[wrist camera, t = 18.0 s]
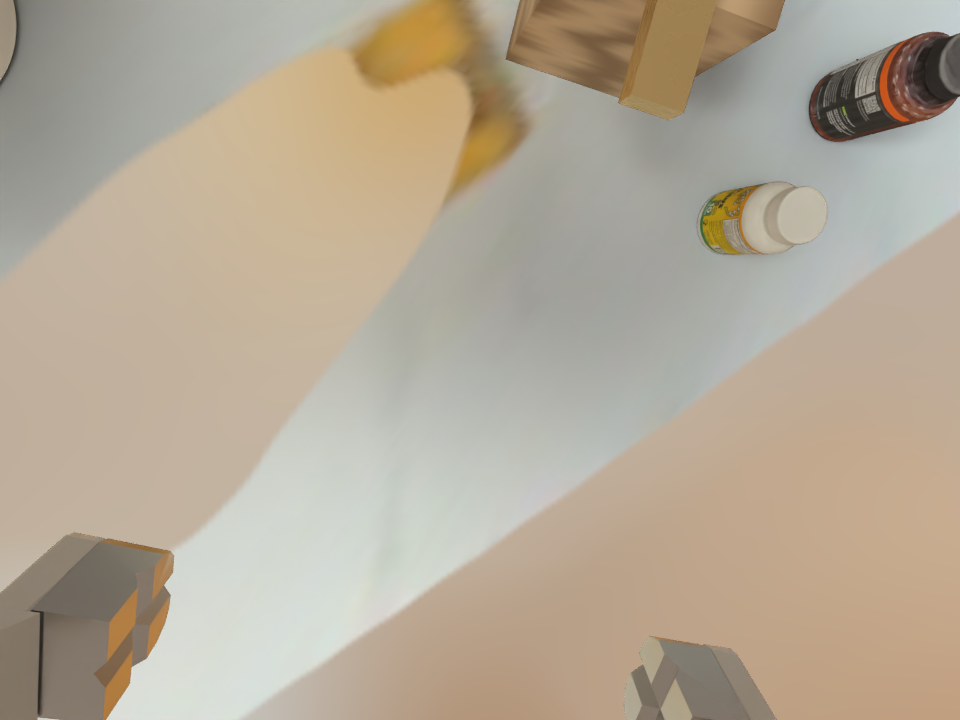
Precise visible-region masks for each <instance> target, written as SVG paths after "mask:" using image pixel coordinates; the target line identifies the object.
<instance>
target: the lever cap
mask: <svg viewBox="0 0 960 720" xmlns="http://www.w3.org/2000/svg"><path fill="white" fill-rule="evenodd" d="M716 2H717V0H647V1H646V5H645V9H644V12H643V16H642V19H641V23H640V27H639V30H638V34H637V37H636V41H635V45H634V48H633V52H632V55H631V59H630V63H629V66H628V70H627V73H626V77H625V80H624V84H623V88H622V91H621V95H620V98H619V102H618V103H619V104H622V105H625V106H628V107H631V108H634V109H637V110H640V111H643V112H646V113H649V114H652V115H655V116H658V117H660V118H663V119H666V120H670V119H672V118H674V117H676V116H679V115H681V114H683V113H684V111H685V107H686V104H687V100H688V97H689V94H690V90H691V87H692V83H693V80H694V77H695V73H696V70H697V67H698V63H699V60H700V56H701V53H702V50H703V46H704V43H705V39H706V36H707V33H708V29H709V26H710V23H711V19H712V16H713V12H714V9H715V6H716Z"/></svg>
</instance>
